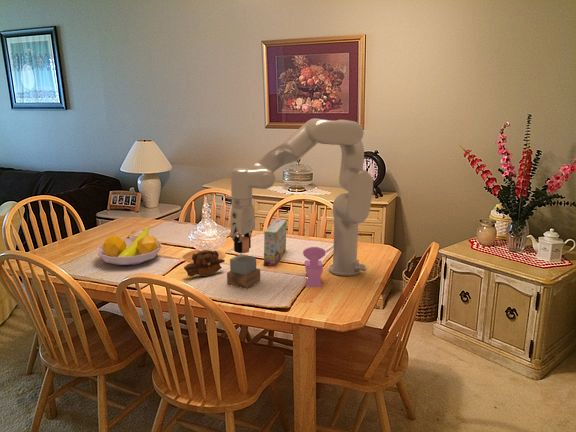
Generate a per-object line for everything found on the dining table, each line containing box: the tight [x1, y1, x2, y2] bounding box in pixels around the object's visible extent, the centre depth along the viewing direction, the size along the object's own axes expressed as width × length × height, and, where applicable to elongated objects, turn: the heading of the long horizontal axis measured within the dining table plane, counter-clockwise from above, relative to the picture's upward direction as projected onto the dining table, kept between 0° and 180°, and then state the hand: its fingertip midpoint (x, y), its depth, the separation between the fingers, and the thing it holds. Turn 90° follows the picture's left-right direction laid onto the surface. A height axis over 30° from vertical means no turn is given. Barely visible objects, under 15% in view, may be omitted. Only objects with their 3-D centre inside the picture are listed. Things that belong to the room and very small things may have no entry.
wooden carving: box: [183, 249, 225, 278], centre depth 186 cm, size 16×5×10 cm, turn 126°
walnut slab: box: [226, 267, 261, 290], centre depth 180 cm, size 9×9×5 cm
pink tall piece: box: [302, 246, 326, 288], centre depth 180 cm, size 8×9×15 cm
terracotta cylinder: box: [236, 235, 250, 254], centre depth 177 cm, size 5×5×5 cm
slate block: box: [229, 253, 257, 275], centre depth 179 cm, size 7×7×5 cm
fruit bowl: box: [96, 225, 162, 266], centre depth 204 cm, size 28×27×11 cm
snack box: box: [263, 218, 288, 267], centre depth 206 cm, size 21×6×15 cm, turn 168°
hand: (242, 249), depth 177 cm, fingers closed on terracotta cylinder, 4 cm apart
